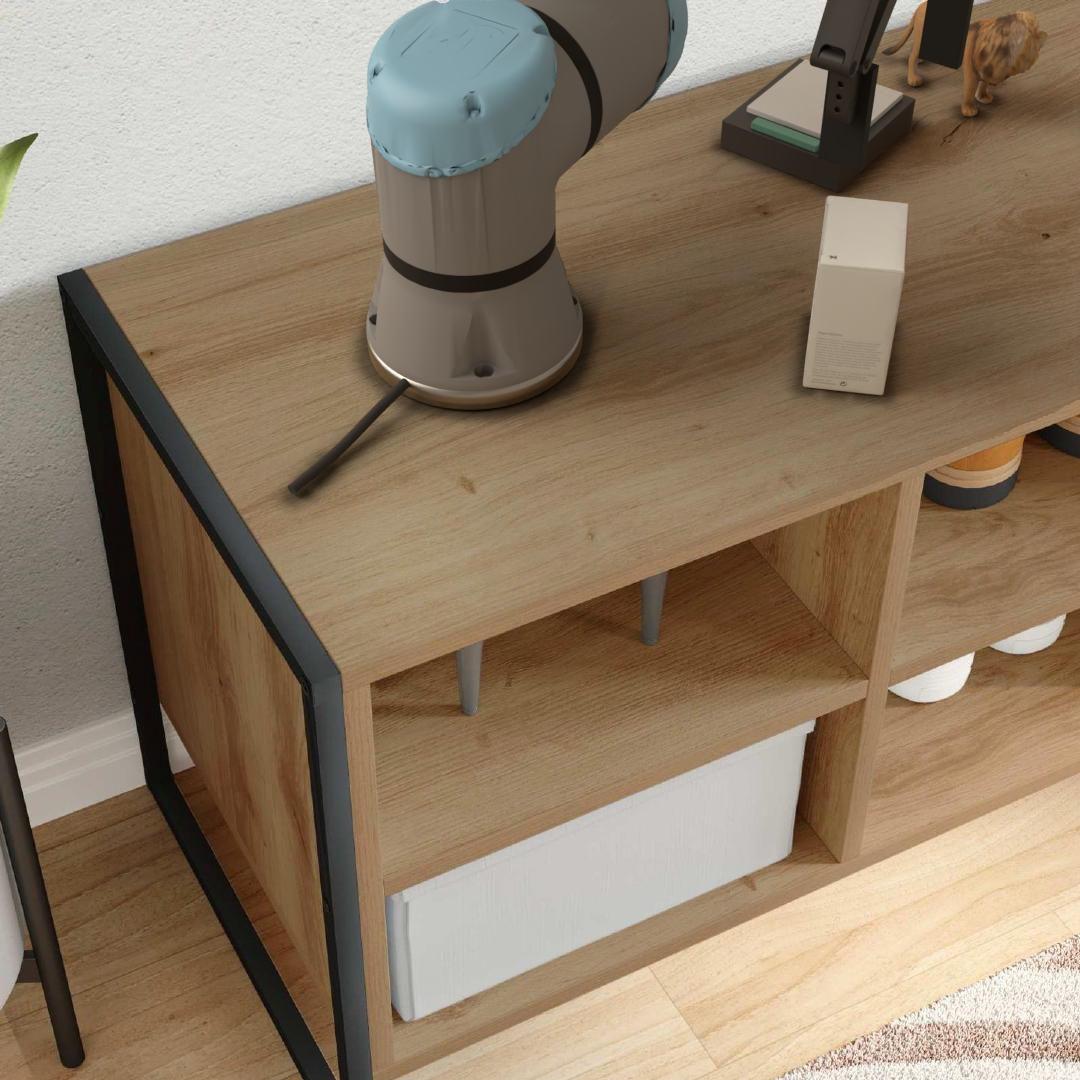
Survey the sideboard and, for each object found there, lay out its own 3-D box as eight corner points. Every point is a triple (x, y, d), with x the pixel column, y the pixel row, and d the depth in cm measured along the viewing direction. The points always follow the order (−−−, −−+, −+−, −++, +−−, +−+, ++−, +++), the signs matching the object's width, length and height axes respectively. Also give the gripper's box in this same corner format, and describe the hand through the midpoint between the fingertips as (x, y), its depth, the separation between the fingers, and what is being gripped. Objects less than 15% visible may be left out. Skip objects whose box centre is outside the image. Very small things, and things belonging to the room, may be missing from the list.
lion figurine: (1040, 111, 131) (1065, 10, 125) (1003, 135, 129) (1026, 34, 122) (898, 47, 139) (914, -51, 132) (860, 70, 136) (875, -29, 130)
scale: (837, 192, 124) (842, 158, 121) (720, 147, 128) (722, 113, 126) (911, 125, 130) (917, 92, 128) (796, 84, 135) (800, 51, 133)
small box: (882, 398, 107) (906, 273, 99) (800, 389, 108) (817, 263, 100) (889, 325, 112) (911, 200, 105) (810, 316, 113) (827, 192, 106)
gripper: (909, -153, 73) (854, 228, 88) (1108, -314, 87) (1030, 39, 102) (767, -187, 76) (737, 187, 91) (981, -338, 90) (924, 9, 105)
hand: (892, 110), depth 97 cm, fingers open, 13 cm apart
